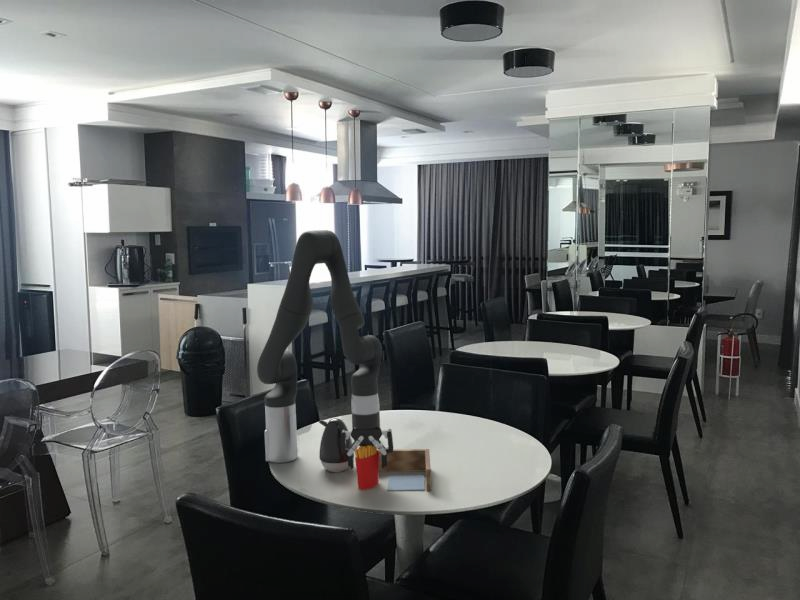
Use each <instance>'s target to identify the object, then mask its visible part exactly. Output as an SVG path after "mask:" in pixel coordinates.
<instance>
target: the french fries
mask: <svg viewBox="0 0 800 600" xmlns="http://www.w3.org/2000/svg"><path fill="white" fill-rule="evenodd" d="M354 459H355V460H354V461H355V469H356V479H357V487H358V488H357V489H360V490H363V491H365V490H370V489H372V488H374V487H376V486H378V485H379V471H378V470H379V451H378V449H377V448H376V446H375V445H374V446H373V447H372V445H370V446H369V445H367V446H366V447H365V446H364V447H362V446H358V447H357V448H356V449H355V450H354Z"/></svg>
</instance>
